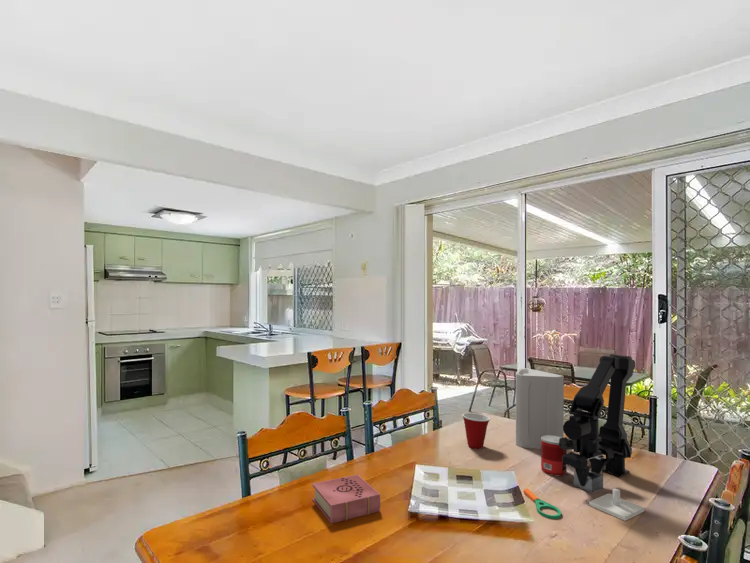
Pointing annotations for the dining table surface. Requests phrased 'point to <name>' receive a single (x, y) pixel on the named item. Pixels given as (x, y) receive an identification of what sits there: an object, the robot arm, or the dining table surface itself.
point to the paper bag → (538, 406)
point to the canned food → (552, 456)
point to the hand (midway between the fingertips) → (588, 483)
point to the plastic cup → (475, 429)
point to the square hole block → (590, 482)
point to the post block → (616, 506)
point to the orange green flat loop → (542, 505)
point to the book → (346, 498)
